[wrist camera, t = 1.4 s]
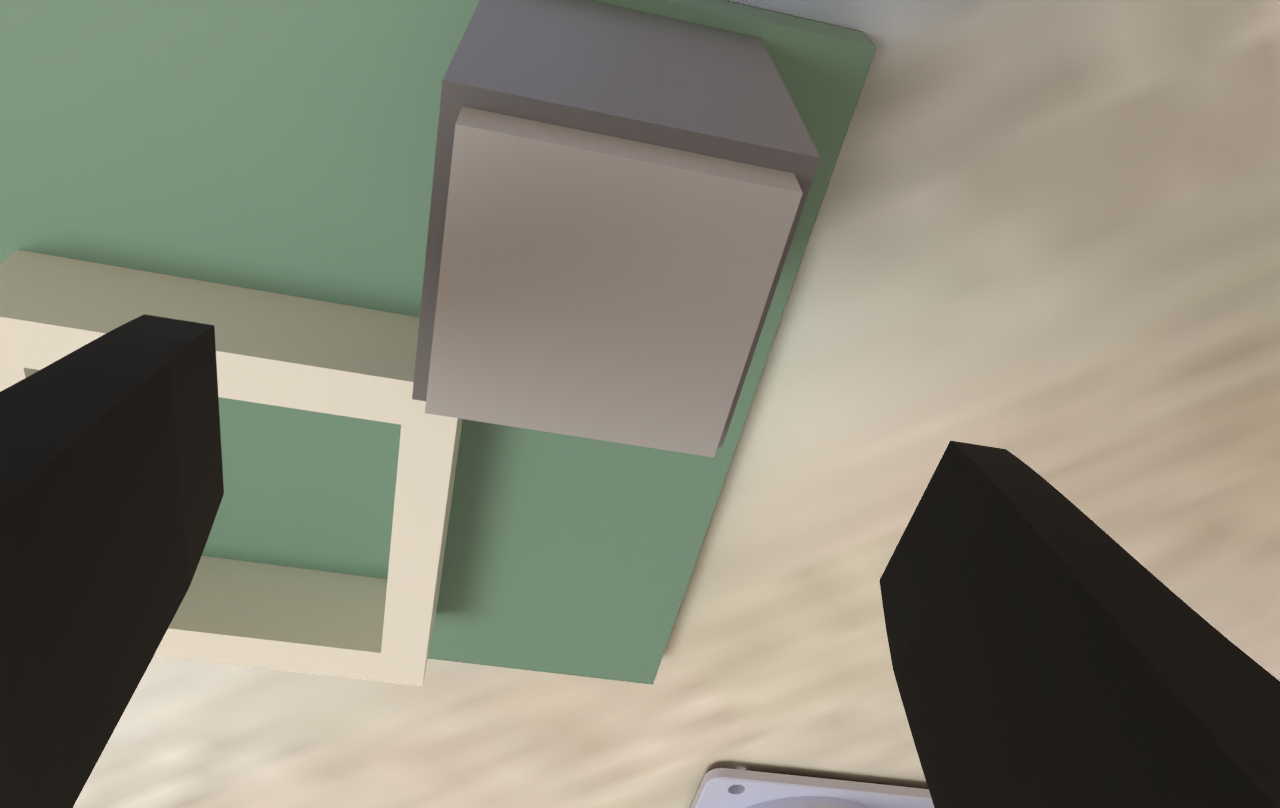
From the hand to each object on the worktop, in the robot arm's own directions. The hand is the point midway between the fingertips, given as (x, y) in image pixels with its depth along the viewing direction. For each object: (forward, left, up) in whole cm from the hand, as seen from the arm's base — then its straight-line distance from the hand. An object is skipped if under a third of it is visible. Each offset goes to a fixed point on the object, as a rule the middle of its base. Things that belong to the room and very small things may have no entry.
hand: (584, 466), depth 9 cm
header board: (+4, +6, -10) cm, 12 cm away
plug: (0, 0, -9) cm, 9 cm away
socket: (+6, +8, -9) cm, 14 cm away
